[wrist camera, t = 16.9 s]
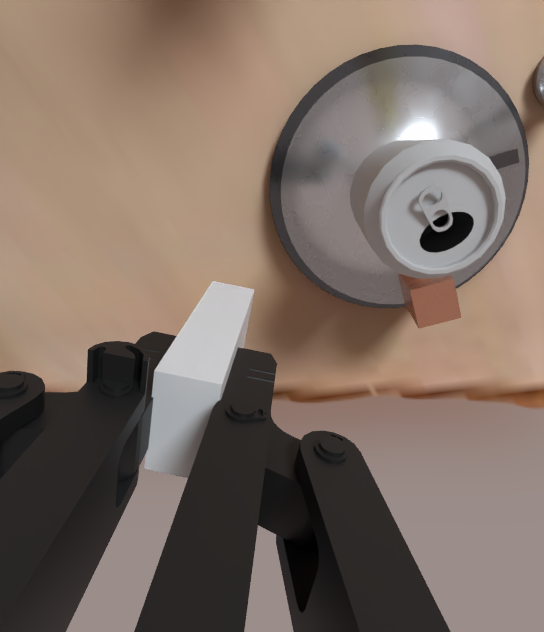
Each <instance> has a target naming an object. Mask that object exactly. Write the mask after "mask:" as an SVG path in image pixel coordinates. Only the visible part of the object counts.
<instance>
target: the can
mask: <svg viewBox="0 0 544 632" xmlns="http://www.w3.org/2000/svg"><path fill="white" fill-rule="evenodd" d="M505 201H506V196H505V191H504V187H503V183H502V178H501V175H500V174H499V172H498V171H497V169H496V168H495V166H494V165H493V163H492V162H491V160H490V158H489V157H487V156H486V155H485V154H483V153H482V152H480V151H479V150H477V149H476V148H475V147H473V146H472V145H469V144H466V143H462V142H458V141H454V140H450V139H420V140H400V141H393V142H390V143H388V144H385V145H383V146H381V147H378V148H377V149H376V150H374V151H373V152H372V153H371V154H370V155H368V156H367V157H366V158H365V159H364V160H363V162H362V163H361V165H360V166H359V168H358V169H357V171H356V172H355V175H354V178H353V181H352V185H351V188H350V206H351V209H352V212H353V215H354V218H355V220H356V222H357V224H358V226H359V227H360V229H361V231H362V233H363V234H364V236H365V238H366V240H367V242H368V243H369V245H370V247H371V248H372V250H373V251H374V252H375V253H376V255H377V256H378V257H379V258H380V260H381V261H382V262H383V263H384V264H385V265H387V266H388V267H390V268H391V269H393V270H395V271H396V272H398V273H399V274H402V275H406V276H410V277H414V278H418V279H429V278H442V277H445V276H448V275H451V274H453V273H456V272H459V271H462V270H463V269H465V268H466V267H467V266H469V265H470V264H472V263H473V262H475V261H476V260H478V259H479V258H480V257H482V255H483V254H484V253H485V252H486V251H487V249H488V248H489V247H490V246H491V245H492V243H493V242H494V241H495V239H496V236H497V234H498V232H499V229H500V227H501V225H502V222H503V219H504V210H505Z"/></svg>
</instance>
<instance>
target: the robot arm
mask: <svg viewBox="0 0 544 632" xmlns="http://www.w3.org/2000/svg"><path fill="white" fill-rule="evenodd" d="M253 295H254V289H250V288H245V287H240V286H235V285H230V284H225V283H220V282H215V281H213V282H212V283H211V285H210V286H209V288H208V289H207V291H206V292H205V294H204V295H203V297H202V298H201V300H200V301H199V303H198V304H197V306H196V308H195V309H194V311H193V312H192V314H191V315H190V317H189V318H188V320H187V321H186V323H185V324H184V326H183V327H182V329H181V331H180V332H179V334H178V335H177V336H173V335H168V334H164V333H159V332H152V333H149V334H147V335H145V336H143V337H141V338H140V339H139V340H138V341H137V343H136V344H133V343H129V342H120V341H113V342H104V343H100V344H97V345H94V346H93V347H91V348H89V349H88V362H87V382H86V384H85V385H84V386H83V387H82V388H81V389H80V390H79V391H78V392H67V393H60V392H45V384H44V382H43V380H42V379H41V378H40V377H38V376H36V375H35V374H31V373H27V372H21V371H7V372H2V373H0V632H66V630H67V628H68V626H69V623H70V622H71V620H72V617H73V615H74V613H75V611H76V609H77V607H78V605H79V603H80V601H81V599H82V597H83V595H84V593H85V591H86V589H87V586H88V584H89V582H90V580H91V578H92V576H93V574H94V572H95V570H96V568H97V566H98V564H99V562H100V560H101V558H102V555H103V553H104V551H105V549H106V547H107V545H108V543H109V541H110V539H111V537H112V535H113V533H114V531H115V529H116V527H117V525H118V522H119V520H120V518H121V516H122V514H123V512H124V510H125V508H126V506H127V504H128V502H129V500H130V498H131V496H132V494H133V491H134V489H135V487H136V485H137V481H138V474H139V465H140V464H141V461H142V460H143V458H144V455H145V454H146V457H145V467H144V469H147V470H152V471H157V472H162V473H167V474H172V475H176V476H182V477H187V478H188V480H187V483H186V486H185V489H184V492H183V495H182V497H181V500H180V503H179V506H178V509H177V512H176V514H175V518H174V521H173V523H172V526H171V529H170V532H169V534H168V537H167V540H166V543H165V546H164V549H163V551H162V554H161V557H160V560H159V563H158V566H157V569H156V571H155V574H154V577H153V580H152V583H151V586H150V589H149V591H148V594H147V597H146V600H145V603H144V606H143V609H142V611H141V614H140V617H139V620H138V623H137V626H136V628H135V631H134V632H244V628H245V620H246V612H247V605H248V597H249V589H250V582H251V573H252V566H253V558H254V551H255V542H256V535H257V527H258V525H259V526H261V527H263V528H265V529H267V530H269V531H271V532H273V533H275V534H276V544H277V550H278V554H279V560H280V565H281V570H282V575H283V580H284V585H285V590H286V595H287V600H288V605H289V610H290V615H291V620H292V625H293V630H294V632H450V630H449V628H448V626H447V624H446V622H445V620H444V618H443V616H442V614H441V612H440V610H439V608H438V606H437V604H436V602H435V600H434V598H433V596H432V594H431V592H430V590H429V588H428V586H427V584H426V582H425V580H424V578H423V576H422V574H421V572H420V570H419V568H418V566H417V564H416V562H415V560H414V558H413V556H412V554H411V552H410V550H409V548H408V546H407V544H406V542H405V540H404V538H403V536H402V534H401V532H400V531H399V528H398V526H397V524H396V522H395V520H394V518H393V516H392V514H391V512H390V510H389V508H388V506H387V504H386V502H385V500H384V498H383V496H382V494H381V492H380V490H379V488H378V486H377V484H376V483H375V480H374V478H373V476H372V474H371V472H370V470H369V468H368V466H367V464H366V462H365V460H364V458H363V456H362V454H361V452H360V451H359V450H358V448H357V447H356V446H355V444H354V443H352V442H351V441H349V440H348V439H347V438H345V437H343V436H341V435H338V434H336V433H333V432H327V431H312V432H310V433H308V434H306V435H304V437H303V438H302V440H299V439H297V438H294V437H292V436H291V435H289V434H287V433H285V432H283V431H282V430H281V429H280V428H278V427H277V425H276V424H275V423H274V422H273V420H272V418H271V404H272V397H273V389H274V381H275V373H276V366H277V363H276V361H275V360H274V358H273V356H272V355H271V354H269V353H264V352H259V351H254V350H249V349H244V344H245V338H246V333H247V328H248V322H249V317H250V311H251V306H252V300H253Z"/></svg>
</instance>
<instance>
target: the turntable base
mask: <svg viewBox="0 0 544 632" xmlns="http://www.w3.org/2000/svg"><path fill="white" fill-rule="evenodd" d="M400 57H429V58H436V59H442V60H445V61H448V62H451V63H455V64H458V65H460V66H462V67H464V68H466V69H468V70H470V71H472V72H473V73H475V74H476V75H478V76H479V77H480V78H482V79H483V80H485V81H486V82H487V83H488V84H489V85H490V86H491V87H492V88H493V89H494V90H495V91H496V92H497V93H498V94H499V95H500V96H501V98H502V99H503V100H504V102H505V103H506V104H507V106H508V107H509V109H510V111H511V113H512V115H513V117H514V119H515V121H516V123H517V126H518V129H519V132H520V134H521V138H522V143H523V148H524V153H525V169H526V170H525V183H524V190H523V195H522V200H521V204H520V207H519V210H518V212H517V215H516V218H515V220H514V223H513V225H512V227H511V229H510V231H509V233H508V235H507V236H506V238H505V239H504V241H503V242H502V244H501V245H500V247H499V248H498V250H497V251H496V252H495V253H494V254H493V256H492V257H491V258H490V259H489V260H488V261H487V262H486V263H485V264H484V265H483V266H482V267H481V268H480V269H479V270H478V271H477V272H476V273H474V274H473V275H472V276H471V277H469V278H468V279H467V280H465V281H464V282H462V283H461V284H459V285H457V286H456V287H455V288H458V287H460V286H461V285H463V284H464V283H466V282H467V281H469V280H470V279H471V278H472V277H474V276H475V275H476V274H477V273H479V272H480V271H481V270H482V269H483V268H484V267H485V266H486V265H487V264H488V263H489V262H490V261H491V260H492V259H493V257H494V256H495V255H496V254H497V252H498V251H499V250H500V248H501V247H502V246H503V244H504V243H505V241H506V239H507V238H508V236H509V235H510V233H511V231H512V229H513V227H514V225H515V223H516V221H517V218H518V216H519V214H520V211H521V208H522V204H523V201H524V198H525V193H526V188H527V183H528V169H529V158H528V145H527V141H526V136H525V132H524V127H523V125H522V122H521V119H520V117H519V114H518V112H517V110H516V108H515V106H514V104H513V103H512V101H511V99H510V97H509V95H508V94H507V93H506V92H505V90H504V89H503V88H502V87H501V85H500V84H499V83H498V82H497V81H496V80H495V79H494V78H493V77H492V76H491V75H490V74H489V73H488V72H487V71H486V70H484V69H483V68H481V67H480V66H478V65H477V64H475V63H474V62H473V61H471V60H469V59H467V58H465V57H463V56H461V55H459V54H456V53H454V52H451V51H448V50H444V49H441V48H437V47H431V46H423V45H397V46H392V47H386V48H380V49H377V50H374V51H371V52H368V53H365V54H361V55H359V56H357V57H355V58H353V59H351V60H349V61H347V62H345V63H343V64H342V65H340V66H339V67H337V68H336V69H334V70H333V71H331V72H330V73H328V74H327V75H326V76H325V77H324V78H322V79H321V80H320V81H319V82H318V83H317V84H315V85H314V86H313V87H312V88H311V90H310V91H309V92H308V93H307V94H306V95H305V96H304V97H303V98H302V100H301V101H300V102H299V104H298V105H297V107H296V108H295V110H294V111H293V112H292V114H291V115H290V117H289V119H288V121H287V123H286V125H285V127H284V129H283V131H282V133H281V136H280V138H279V141H278V144H277V146H276V150H275V154H274V158H273V162H272V168H271V176H270V201H271V209H272V215H273V219H274V222H275V226H276V230H277V232H278V235H279V237H280V239H281V242H282V244H283V246H284V248H285V249H286V251H287V253H288V254H289V256H290V258H291V259H292V260H293V262H294V263H295V264H296V266H297V267H298V268H299V269H300V270H301V271H302V272H303V273H304V274H305V275H306V276H307V277H308V278H309V279H310V280H311V281H312V282H314V283H315V284H316V285H317V286H319V287H320V288H321V289H323V290H325V291H327V292H328V293H330V294H332V295H334V296H336V297H338V298H340V299H343V300H345V301H348V302H351V303H355V304H359V305H362V306H369V307H376V308H397V307H406V306H405V303H403V304H378V303H372V302H366V301H363V300H359V299H356V298H352V297H350V296H348V295H345V294H343V293H341V292H339V291H337V290H336V289H334V288H332V287H331V286H329V285H327V284H326V283H325V282H324V281H322V280H321V279H320V278H319V277H317V276H316V275H315V274H314V273H313V272H312V271H311V270H310V269H309V268H308V267H307V265H306V264H305V263H304V261H303V260H302V259H301V257H300V256H299V254H298V253H297V251H296V249H295V247H294V245H293V244H292V242H291V239H290V237H289V234H288V231H287V229H286V225H285V221H284V217H283V213H282V204H281V179H282V172H283V166H284V162H285V158H286V155H287V151H288V148H289V146H290V143H291V141H292V139H293V136H294V134H295V132H296V130H297V129H298V127H299V125H300V123H301V122H302V120H303V118H304V117H305V116H306V114H307V113H308V112H309V110H310V109H311V108H312V106H313V105H314V104H315V103H316V102H317V101H318V100H319V99H320V98H321V97H322V95H323V94H324V93H325V92H327V91H328V90H329V89H330V88H331V87H333V86H334V85H335V84H336V83H338V82H339V81H340V80H342V79H344V78H345V77H347V76H348V75H350V74H352V73H353V72H355V71H357V70H359V69H362V68H364V67H366V66H368V65H371V64H374V63H377V62H380V61H384V60H387V59H393V58H400Z"/></svg>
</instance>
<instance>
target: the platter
mask: <svg viewBox="0 0 544 632" xmlns="http://www.w3.org/2000/svg"><path fill="white" fill-rule="evenodd" d="M420 139H450V140H454V141H458V142H462V143H466V144H469V145H472V146H473V147H475V148H476V149H477V150H479V151H480V152H482V153H483V154H485V155H486V156H487V157H489V158H490V160H491V162H492V163H493V165H494V166H495V168H496V169H497V171H498V172H499V174H500V175H501V178H502V183H503V187H504V191H505V196H506V201H505V210H504V219H503V222H502V225H501V227H500V229H499V232H498V234H497V236H496V239H495V241H494V242H493V243H492V245H491V246H490V247H489V248H488V249H487V251H486V252H485V253H484V254H483V255H482V257H480V258H479V259H478V260H476V261H475V262H473V263H472V264H470V265H469V266H467V267H466V268H465V269H463V270H462V271H459V272H456V273H453V274H451V275H448V276H445V277H442V278H429V279H418V278H414V277H410V276H406V275H402V274H399V273H398V272H396V271H395V270H393V269H391V268H390V267H388V266H387V265H385V264H384V263H383V262H382V261H381V260H380V258H379V257H378V256H377V255H376V253H375V252H374V251H373V250H372V248H371V247H370V245H369V243H368V242H367V240H366V238H365V236H364V234H363V233H362V231H361V229H360V227H359V226H358V224H357V222H356V220H355V218H354V215H353V212H352V209H351V206H350V188H351V185H352V181H353V178H354V175H355V172H356V171H357V169H358V168H359V166H360V165H361V163H362V162H363V160H364V159H365V158H366V157H367V156H368V155H370V154H371V153H372V152H373V151H374V150H376V149H377V148H378V147H381V146H383V145H385V144H388V143H390V142H393V141H400V140H420ZM525 170H526V169H525V153H524V148H523V143H522V138H521V134H520V132H519V129H518V126H517V123H516V121H515V119H514V117H513V115H512V113H511V111H510V109H509V107H508V106H507V104H506V103H505V102H504V100H503V99H502V98H501V96H500V95H499V94H498V93H497V92H496V91H495V90H494V89H493V88H492V87H491V86H490V85H489V84H488V83H487V82H486V81H485V80H483V79H482V78H480V77H479V76H478V75H476V74H475V73H473V72H472V71H470V70H468V69H466V68H464V67H462V66H460V65H458V64H455V63H451V62H448V61H445V60H442V59H436V58H429V57H400V58H393V59H387V60H384V61H380V62H377V63H374V64H371V65H368V66H366V67H364V68H362V69H359V70H357V71H355V72H353V73H352V74H350V75H348V76H347V77H345V78H344V79H342V80H340V81H339V82H338V83H336V84H335V85H334V86H333V87H331V88H330V89H329V90H328V91H327V92H325V93H324V94H323V95H322V97H321V98H320V99H319V100H318V101H317V102H316V103H315V104H314V105H313V106H312V108H311V109H310V110H309V112H308V113H307V114H306V116H305V117H304V118H303V120H302V122H301V123H300V125H299V127H298V129H297V130H296V132H295V134H294V136H293V139H292V141H291V143H290V146H289V148H288V151H287V155H286V158H285V162H284V166H283V172H282V179H281V204H282V213H283V217H284V221H285V225H286V229H287V231H288V234H289V237H290V239H291V242H292V244H293V245H294V247H295V249H296V251H297V253H298V254H299V256H300V257H301V259H302V260H303V261H304V263H305V264H306V265H307V267H308V268H309V269H310V270H311V271H312V272H313V273H314V274H315V275H316V276H317V277H319V278H320V279H321V280H322V281H324V282H325V283H326V284H327V285H329V286H331V287H332V288H334V289H336V290H337V291H339V292H341V293H343V294H345V295H348V296H350V297H352V298H356V299H359V300H363V301H366V302H372V303H378V304H403V303H405V306H406V307H407V309H408V311H409V312H410V314H411V316H412V318H413V319H414V321H415V323H416V325H417V326H418V328H422V327H426V326H430V325H434V324H438V323H442V322H446V321H450V320H454V319H458V318H461V314H460V309H459V303H458V298H457V293H456V288H455V287H456V286H457V285H459V284H461V283H462V282H464V281H465V280H467V279H468V278H469V277H471V276H472V275H473V274H474V273H476V272H477V271H478V270H479V269H480V268H481V267H482V266H483V265H484V264H485V263H486V262H487V261H488V260H489V259H490V258H491V257H492V256H493V254H494V253H495V252H496V251H497V250H498V248H499V247H500V245H501V244H502V242H503V241H504V239H505V238H506V236H507V235H508V233H509V231H510V229H511V227H512V225H513V223H514V220H515V218H516V215H517V212H518V210H519V207H520V204H521V200H522V195H523V190H524V183H525Z"/></svg>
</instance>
